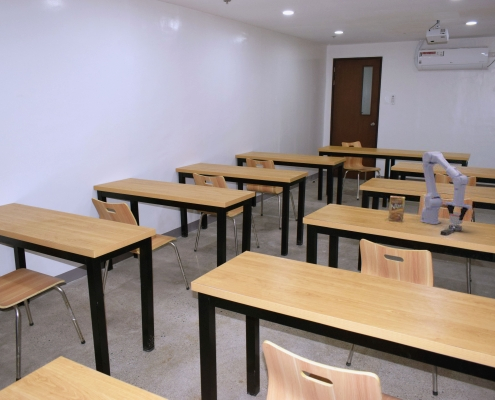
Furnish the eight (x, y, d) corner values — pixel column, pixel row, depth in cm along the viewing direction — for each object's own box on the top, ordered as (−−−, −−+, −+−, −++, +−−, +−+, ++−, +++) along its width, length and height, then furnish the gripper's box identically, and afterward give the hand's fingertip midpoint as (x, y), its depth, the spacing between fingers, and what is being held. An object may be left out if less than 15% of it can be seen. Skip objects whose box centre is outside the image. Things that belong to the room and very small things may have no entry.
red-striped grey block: (449, 222, 253) (450, 213, 252) (453, 221, 257) (454, 212, 256) (458, 224, 249) (459, 215, 248) (462, 222, 253) (463, 213, 252)
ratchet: (436, 233, 247) (437, 225, 246) (451, 227, 259) (452, 219, 258) (449, 236, 242) (450, 227, 241) (463, 230, 254) (464, 222, 253)
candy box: (388, 220, 274) (390, 196, 271) (388, 219, 278) (390, 195, 275) (402, 222, 271) (405, 198, 268) (403, 220, 275) (405, 196, 272)
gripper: (443, 195, 253) (440, 217, 255) (469, 199, 242) (466, 222, 245) (448, 193, 257) (446, 215, 260) (474, 197, 247) (471, 220, 249)
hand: (456, 219), depth 253 cm, fingers closed on red-striped grey block, 5 cm apart
